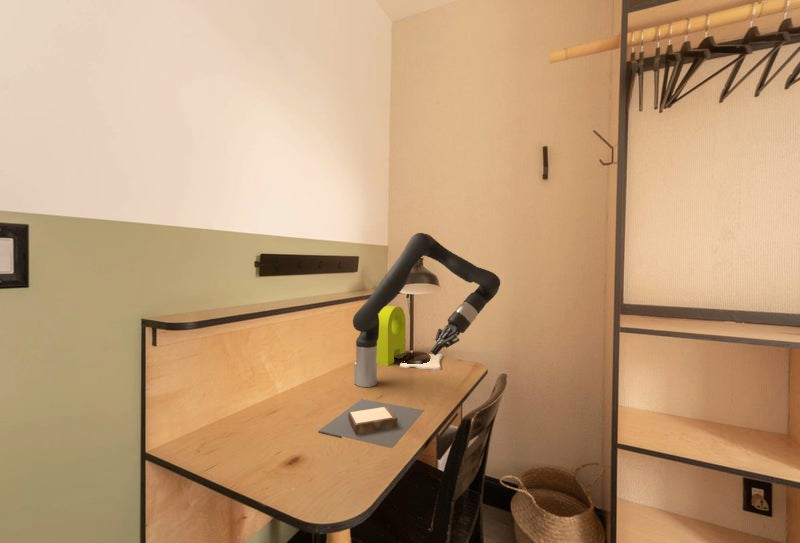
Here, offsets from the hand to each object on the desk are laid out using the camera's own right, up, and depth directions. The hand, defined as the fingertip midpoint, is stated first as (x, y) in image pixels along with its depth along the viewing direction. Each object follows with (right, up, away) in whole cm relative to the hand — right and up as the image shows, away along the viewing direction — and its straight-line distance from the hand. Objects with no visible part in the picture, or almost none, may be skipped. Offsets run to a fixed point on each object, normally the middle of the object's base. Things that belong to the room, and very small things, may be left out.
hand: (432, 353), depth 125 cm
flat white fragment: (+1, -21, +65) cm, 68 cm away
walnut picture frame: (-14, -20, -6) cm, 25 cm away
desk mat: (-20, -22, -5) cm, 30 cm away
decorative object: (-16, -20, +68) cm, 73 cm away
